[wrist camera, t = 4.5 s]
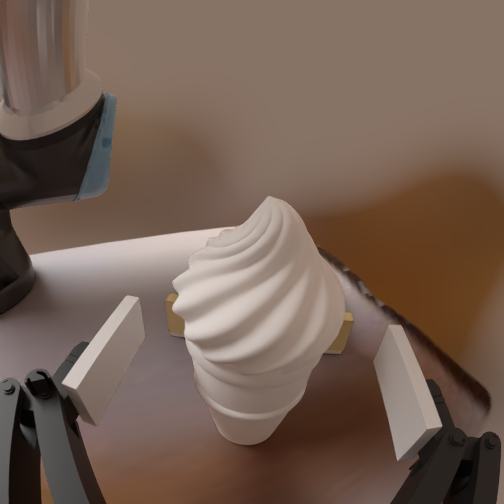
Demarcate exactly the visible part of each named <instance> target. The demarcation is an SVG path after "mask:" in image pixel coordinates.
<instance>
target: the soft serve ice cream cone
mask: <svg viewBox="0 0 504 504" xmlns="http://www.w3.org/2000/svg"><path fill="white" fill-rule="evenodd" d="M188 266H189V269H188V270H187V271H185V272H184V273H182V274H180V275H179V276H178V277H176V278H175V279H174V280H173V281H172V282H173V286H174V288H175V290H176V291H177V292H178V294H179V296H178V298H177V300H176V301H175V303H174V304H173V307H172V310H173V312H174V313H175V314H177V315H178V316H180V317H182V318H183V319H184V320H185V330H184V336H185V340H186V346H187V348H188V351H189V353H190V355H191V356H192V360H193V365H194V369H195V373H194V378H195V385H196V387H197V390H198V392H199V394H200V395H201V397H202V398H203V399H204V401H205V402H206V404H207V406H208V409H209V411H210V413H211V415H212V418H213V420H214V422H215V424H216V426H217V429H218V431H219V432H220V433H221V435H222V436H223V437H225V438H226V439H227V440H229V441H231V442H233V443H236V444H240V445H254V444H258V443H261V442H263V441H265V440H266V439H267V438H269V437H270V436H271V435H272V433H273V432H274V431H275V429H276V428H277V427H278V425H279V424H280V423H281V421H282V420H283V419H284V417H285V416H286V415H287V413H288V412H289V411H290V410H291V409H292V408H293V407H294V406H295V405H296V404H297V403H299V401H300V400H301V398H302V397H303V395H304V392H305V390H306V387H307V381H308V379H309V377H310V374H311V372H312V369H313V368H314V367H315V366H316V365H317V364H318V362H319V360H320V359H321V357H322V354H323V353H324V352H325V351H326V350H327V349H328V348H329V347H330V346H331V344H332V343H333V341H334V340H335V339H336V337H337V336H338V334H339V332H340V329H341V326H342V324H343V321H344V315H345V309H346V304H345V295H344V290H343V288H342V285H341V283H340V281H339V278H338V277H337V275H336V274H335V272H334V271H333V269H332V268H331V266H330V265H329V264H328V263H327V262H326V261H325V260H324V259H323V258H322V257H321V256H320V255H319V252H318V250H317V248H316V246H315V244H314V242H313V240H312V238H311V236H310V235H309V233H308V231H307V229H306V227H305V224H304V222H303V220H302V219H301V217H300V216H299V214H298V213H297V212H296V211H295V210H294V209H293V208H292V207H291V206H290V205H289V204H288V203H286V202H285V201H283V200H280V199H277V198H274V197H270V196H268V197H267V198H266V199H265V200H264V202H263V203H262V204H261V205H260V206H259V207H258V209H257V210H256V211H255V212H254V213H253V214H252V216H251V217H250V218H249V219H248V220H247V221H246V222H245V223H244V224H242V225H239V226H237V227H235V228H234V229H226V230H223V231H222V232H221V233H220V235H219V236H218V237H212V238H209V239H208V240H207V243H206V247H205V248H203V249H200V250H198V251H196V252H194V253H193V254H192V255H190V257H189V259H188Z"/></svg>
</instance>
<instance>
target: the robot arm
mask: <svg viewBox="0 0 504 504" xmlns="http://www.w3.org/2000/svg"><path fill="white" fill-rule="evenodd" d="M88 5H89V0H0V87H1V92H2V96H3V100H2V102H1V103H0V313H2V312H4V311H6V310H7V309H9V308H11V307H12V306H14V305H15V304H16V303H18V302H19V301H20V300H21V299H22V298H23V297H24V296H25V295H26V294H27V293H28V292H29V290H30V289H31V287H32V286H33V283H34V281H35V273H34V270H33V266H32V262H31V259H30V257H29V255H28V254H27V252H26V250H25V248H24V247H23V245H22V243H21V241H20V239H19V237H18V236H17V234H16V232H15V230H14V228H13V226H12V223H11V218H10V212H9V210H10V209H16V208H23V207H30V206H38V205H45V204H53V203H62V202H71V201H74V202H77V201H78V200H80V199H84V198H90V197H96V196H99V195H101V194H102V193H103V192H104V191H105V190H106V188H107V186H108V182H109V174H110V161H111V150H112V138H113V130H114V121H115V111H116V103H117V98H116V96H115V95H111V94H108V93H105V94H102V82H101V79H100V78H99V76H98V75H97V74H95V73H94V72H92V71H90V70H88V69H87V65H86V64H87V62H86V61H87V60H86V57H87V55H86V54H87V50H86V49H87V46H86V45H87V19H88ZM145 337H146V335H145V330H144V324H143V318H142V312H141V306H140V300H139V297H134V296H128V295H126V297H125V298H124V299H123V300H122V302H121V303H120V304H119V306H118V307H117V308H116V309H115V311H114V312H113V313H112V315H111V316H110V317H109V318H108V320H107V321H106V322H105V324H104V325H103V326H102V328H101V329H100V330H99V332H98V333H97V334H96V336H95V337H94V338H93V340H92V341H91V342H90V343H88V342H85V341H83V342H81V343H80V344H78V345H77V346H75V347H74V349H73V350H72V351H71V353H70V355H68V357H67V358H66V359H65V361H64V362H63V363H62V365H61V366H60V367H59V369H58V370H57V372H56V373H55V374H54V376H53V377H52V378H51V376H50V374H49V373H48V372H47V371H46V370H43V369H35V370H33V371H31V372H30V373H28V374H27V376H26V378H25V382H24V383H25V385H26V387H23V386H21V385H20V384H19V382H18V381H17V380H16V379H14V378H7V379H5V380H3V381H2V382H1V383H0V504H42V503H41V479H40V459H41V456H42V461H43V465H44V469H45V473H46V477H47V481H48V485H49V488H50V492H51V495H52V498H53V501H54V504H106V502H105V500H104V497H103V495H102V493H101V490H100V488H99V485H98V483H97V480H96V478H95V475H94V472H93V470H92V467H91V464H90V461H89V458H88V456H87V452H86V449H85V446H84V443H83V440H82V437H81V433H80V430H79V426H78V423H77V421H76V419H77V417H78V415H80V417H81V419H82V420H83V421H84V422H86V423H89V424H91V425H94V426H98V424H99V422H100V420H101V418H102V416H103V414H104V412H105V410H106V408H107V406H108V404H109V402H110V401H111V399H112V397H113V395H114V393H115V391H116V389H117V387H118V386H119V384H120V382H121V380H122V378H123V376H124V375H125V373H126V371H127V369H128V367H129V365H130V364H131V362H132V360H133V358H134V357H135V355H136V353H137V351H138V349H139V348H140V346H141V344H142V342H143V341H144V339H145ZM373 363H374V367H375V370H376V374H377V378H378V381H379V385H380V389H381V392H382V396H383V400H384V404H385V408H386V412H387V416H388V421H389V425H390V429H391V434H392V438H393V443H394V448H395V453H396V458H397V461H402V460H408V459H412V458H413V457H414V456H415V455H416V454H417V453H418V455H419V459H418V460H417V461H416V462H415V463H414V464H413V465H412V466H411V467H410V468H409V470H411V469H412V468H413V469H412V470H411V472H410V474H409V476H408V477H407V479H406V480H405V482H404V484H403V485H402V487H401V488H400V490H399V491H398V493H397V494H396V496H395V497H394V499H393V500H392V502H391V503H390V504H441V503H442V504H496V501H497V493H498V485H499V475H500V460H501V442H500V439H499V437H498V436H497V435H496V434H495V433H493V432H486V433H484V434H483V435H482V436H481V437H480V438H475V437H467V436H466V435H465V433H464V432H463V431H462V430H461V429H458V428H455V426H454V424H453V421H452V418H451V416H450V413H449V411H448V408H447V405H446V403H445V400H444V398H443V397H442V393H441V391H440V388H439V386H438V385H437V384H436V383H435V382H434V381H433V380H432V379H430V380H425V378H424V376H423V373H422V371H421V369H420V366H419V364H418V361H417V359H416V357H415V354H414V352H413V350H412V348H411V345H410V343H409V341H408V339H407V337H406V334H405V332H404V330H403V328H402V326H401V325H388V328H387V330H386V333H385V335H384V338H383V340H382V343H381V345H380V347H379V350H378V352H377V354H376V357H375V359H374V361H373Z"/></svg>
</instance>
